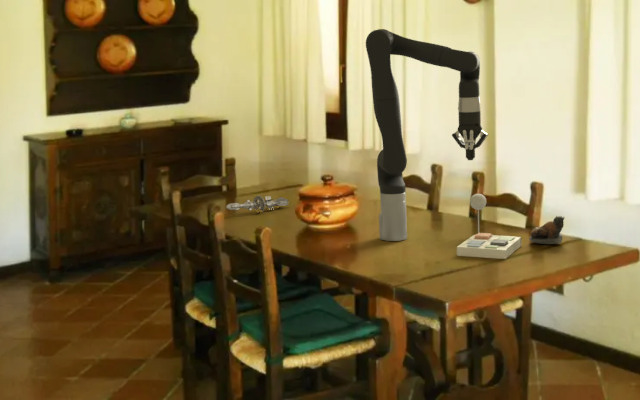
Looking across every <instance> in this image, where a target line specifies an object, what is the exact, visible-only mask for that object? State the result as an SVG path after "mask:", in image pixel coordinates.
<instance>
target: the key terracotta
mask: <svg viewBox="0 0 640 400" xmlns="http://www.w3.org/2000/svg"><path fill="white" fill-rule="evenodd" d="M475 234H476V235H475ZM475 234H474V235H475V239H487V240H489V239H490V238H491V237H492V235H493V233H490V232H489V233H488V232H479V233H478V232H477V233H475Z"/></svg>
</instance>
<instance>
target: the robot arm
mask: <svg viewBox="0 0 640 400" xmlns="http://www.w3.org/2000/svg"><path fill="white" fill-rule="evenodd" d="M365 48H366V49H365V50H366V54H367V57H368V62H369V67H370V74H371V77H370V78H371V91H372V92H371V93H372V105H373V111H374V116H375V120H376V122H377V123H376V124H377V126H378V128H379V131H380V135H381V139H382V150H380V151H379V153H378V155H377V160H376V170H377V181H378V182H377V183H378V186H379V193H380V195H379V198H380V213H378V226H379V227H378V228H379V229H378V230H379V240H381V241H382V240H383V241H387V242H398V241H405V240H407V239H408V226H407V225H408V223H407V221H408V220H407V195H406V193H407V192H406V189H407V188H406V183H405V181H404V177H403V176H404V175H403V172H404V171H405V170H406V168H407V165H408V159H407V154H406V150H405V149H406V148H405V145H404V138H403V132H402V130H403V129H402V119H401V118H402V116H401V115H402V114H401V104H400V94H399V90H398V86H397V82H396V81H395V77H394V75H393V72H392V71H393V70H392V65H391V64H392V63H391V56H392V55H395V56H402V57H406V58H410V59H414V60H417V61H419V62H420V63H421V62H422V63H425V64H428V65H432V66H437V67H440V68H441V67H442V68H448V69H451V70H454V71H457V72H459V75H460V76H459V77H460V78H459V83H458V102H457V103H458V104H457V105H458V107H457V110H458V127H457V130H456V131H455V132H454V133H452V134H451V136H452V138H453V139H454V140H455V142H456V144H457V145H459V147H460V148H461V149H464V150H465V159H467V161H473V160H474V159H475V157H476V153H475V152H476V149H478V148H479V147H481V145H482V144H483V143H484V141H486V139H487V138H488V136H489V133H488V132H485V131H484V130H483V127H482V125H481V124H482V123H481V121H482V120H481V119H482V118H481V117H482V115H481V100H480V99H481V98H480V72H481V70H480V69H481V61H480V59H481V58H480V57H479V55H478V54H477V53H476V52H475V51H471V50H470V51H464V50H460V49H454V48H451V47H449V46H445V45H441V44H436V43H431V42H426V41H419V40H416V39H411V38H407V37H405V36H402V35H399V34H397V33H394V32H391V31H389V30H388V29H385V28H377V29H374V30H373V31H372V30H371V32H370V33H369V34H368V35H367V36H366V40H365ZM461 137H462V138H461ZM478 137H479V139H478ZM477 139H478V140H477Z"/></svg>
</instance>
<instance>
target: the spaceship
mask: <svg viewBox="0 0 640 400" xmlns="http://www.w3.org/2000/svg"><path fill="white" fill-rule="evenodd" d="M264 198H265V199H264ZM289 204H290V202H289V199H287V198H284V197H282V196H280V197H279V198H277V199H275V198H272V197H271V196H270V195H269V196H264V197H263V196H261V195H259V194H258V195H256V196H255V197H254V198H253V200H252V201H250V199H247V200H246V202H243V203H237V202H234V203H233V202H231V203H228V204H227V205H226V206H225V208H226V209H227V210H230V211H237V210H240V209H244V210H247V209H248V211H249V212H251V211H253V210H254V209H256V210H257V209H259V210H262V211H263V212H264V211H265V209H268V208H269V209H270V208H271V209H272V208H273V209H274V208H275V206H284V207H285V206H288V205H289Z"/></svg>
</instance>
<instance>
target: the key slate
mask: <svg viewBox="0 0 640 400" xmlns="http://www.w3.org/2000/svg"><path fill="white" fill-rule="evenodd" d="M483 243H485V241H475V240H471V241H470V242H468V243H467V244H480V245H482V244H483Z"/></svg>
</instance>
